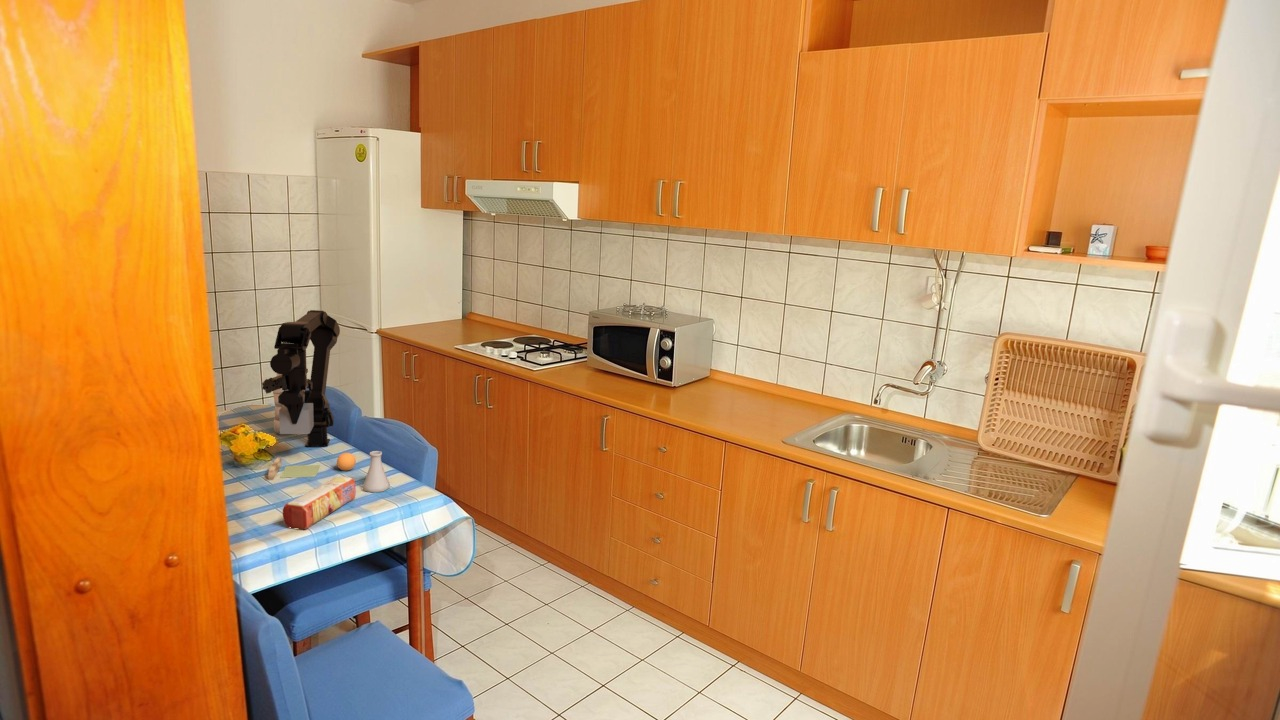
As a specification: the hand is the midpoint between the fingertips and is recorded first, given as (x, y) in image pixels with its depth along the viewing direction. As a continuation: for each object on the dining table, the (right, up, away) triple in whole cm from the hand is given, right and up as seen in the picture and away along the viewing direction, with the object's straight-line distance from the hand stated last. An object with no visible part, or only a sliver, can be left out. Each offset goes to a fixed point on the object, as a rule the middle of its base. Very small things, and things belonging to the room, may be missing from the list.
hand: (297, 419), depth 211 cm
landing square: (+4, -14, -5) cm, 16 cm away
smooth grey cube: (0, -3, +1) cm, 3 cm away
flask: (+28, -17, -14) cm, 36 cm away
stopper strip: (-3, -14, -7) cm, 16 cm away
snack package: (+21, -21, -31) cm, 43 cm away
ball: (+15, -12, -3) cm, 19 cm away
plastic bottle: (-17, -7, +27) cm, 33 cm away
